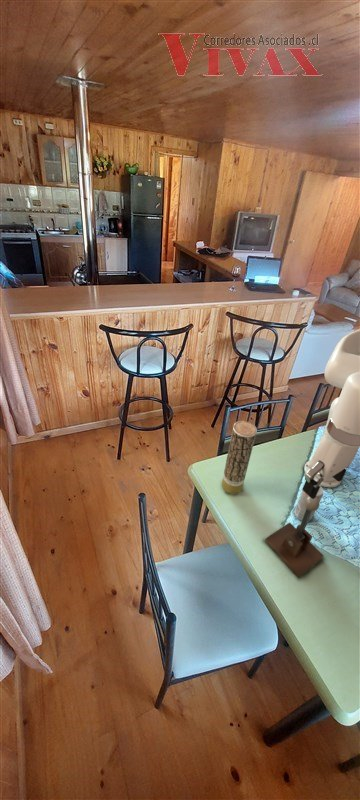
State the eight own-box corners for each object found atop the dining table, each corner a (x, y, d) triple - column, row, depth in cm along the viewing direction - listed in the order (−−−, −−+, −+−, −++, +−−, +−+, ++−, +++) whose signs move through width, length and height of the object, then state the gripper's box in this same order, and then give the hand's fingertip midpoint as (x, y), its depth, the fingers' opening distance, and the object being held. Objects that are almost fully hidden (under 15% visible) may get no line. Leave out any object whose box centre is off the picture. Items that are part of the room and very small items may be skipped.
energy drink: (312, 511, 103) (324, 485, 96) (310, 525, 99) (323, 498, 92) (295, 505, 104) (306, 479, 98) (292, 518, 100) (303, 491, 93)
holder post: (302, 496, 80) (314, 506, 78) (312, 490, 82) (324, 500, 80) (287, 539, 90) (297, 550, 87) (296, 533, 91) (306, 543, 89)
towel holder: (264, 541, 93) (270, 525, 89) (288, 525, 98) (294, 510, 94) (298, 578, 85) (305, 562, 81) (322, 558, 90) (330, 543, 86)
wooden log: (241, 496, 106) (256, 437, 92) (220, 492, 107) (232, 433, 92) (242, 481, 111) (257, 423, 97) (222, 477, 112) (234, 419, 98)
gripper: (355, 408, 74) (330, 461, 84) (305, 433, 66) (284, 489, 76) (387, 426, 69) (357, 481, 79) (337, 456, 61) (311, 513, 71)
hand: (321, 485), depth 77 cm, fingers open, 9 cm apart
